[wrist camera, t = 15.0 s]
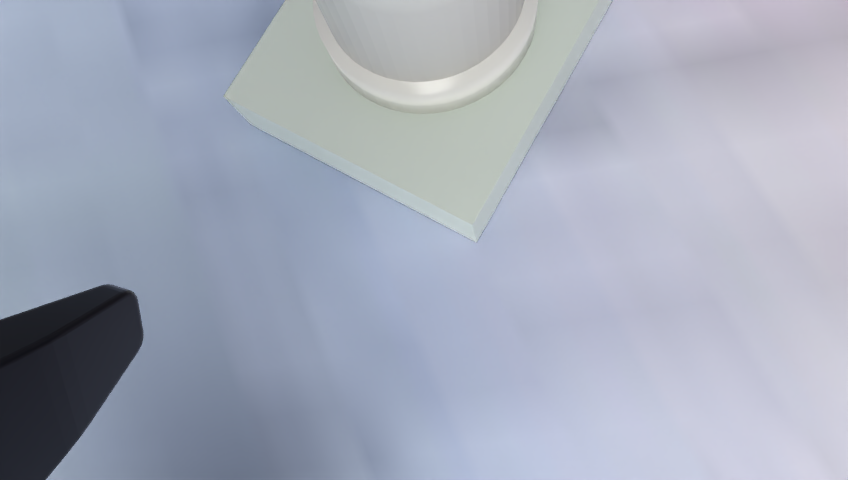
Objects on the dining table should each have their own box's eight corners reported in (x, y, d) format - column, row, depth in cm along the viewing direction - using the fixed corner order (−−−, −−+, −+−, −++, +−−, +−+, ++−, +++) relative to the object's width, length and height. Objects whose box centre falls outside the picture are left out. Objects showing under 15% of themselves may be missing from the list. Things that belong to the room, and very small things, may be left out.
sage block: (476, 242, 23) (472, 224, 20) (251, 124, 25) (223, 96, 23) (629, -30, 24) (642, -76, 22) (404, -117, 27) (393, -168, 24)
